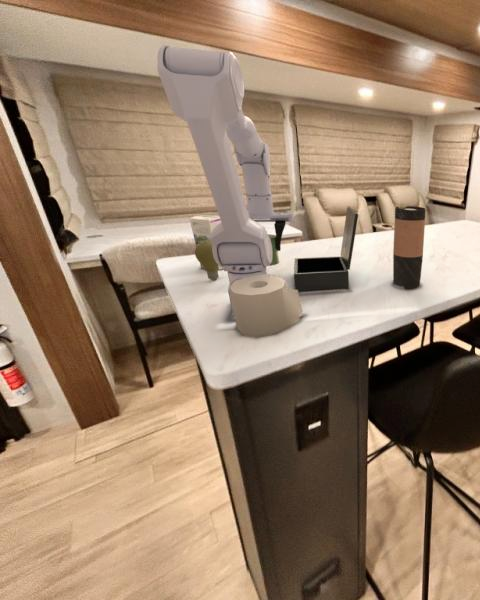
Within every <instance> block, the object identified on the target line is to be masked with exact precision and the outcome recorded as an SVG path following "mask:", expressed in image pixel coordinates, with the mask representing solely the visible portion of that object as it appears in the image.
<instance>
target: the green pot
mask: <svg viewBox="0 0 480 600" xmlns="http://www.w3.org/2000/svg"><path fill="white" fill-rule="evenodd" d="M267 234H268V237H269V238H270V240H271V244H272V251H273V257H272V262H271V264H270V265H269V266H268V267H271V266H276V265H278V264H279V263H280V257H279V251H277V240H276V234H269V233H267Z"/></svg>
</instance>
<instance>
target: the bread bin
mask: <svg viewBox="0 0 480 600" xmlns="http://www.w3.org/2000/svg"><path fill="white" fill-rule="evenodd" d="M293 280H294V289H295V290H298V293H306V292H307V293H308V292H323V291H337V290H338V291H339V290H349V289H350V283H349V282H350V281H349V270H347V268H346V266H345V264H344V262H343V259H342V257H341V256H321V257H319V256H316V257H295V258H294V266H293Z"/></svg>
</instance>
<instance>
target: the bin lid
mask: <svg viewBox="0 0 480 600" xmlns="http://www.w3.org/2000/svg"><path fill="white" fill-rule="evenodd" d="M358 218H359V213H358V212H356V211H355V210H354V209H353V208H352V207H351V206H350V205H349V206H348V205H347V207H346V213H345V221H344V226H343V227H344V228H343V234H342V241H341V248H340V249H341V250H340V257H342V259H343V262H344V264H345V266H346V268H347V270H348V271H350V270H351V263H352V257H353V251H354V244H355V238H356V233H357V232H356V231H357V225H358Z"/></svg>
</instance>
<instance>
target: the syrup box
mask: <svg viewBox="0 0 480 600" xmlns="http://www.w3.org/2000/svg"><path fill="white" fill-rule="evenodd" d="M189 222H190V227H191V230H192V235H193V239H194V243H195V248H196V247H197V246H198V245H199V244H200V243H203V242H211V241H210V237H211V233H212V231H213V229H214V228H215V227H216V226H217V225H218V224H220V223H221V220H220V217H219V215H206V214H201V215H199V214H198V215H194V216H192V217H189ZM199 265H200V268H201V269H204V267H203V266H202V264H201V263H200V262H199ZM218 270H223V267H221V266H219V265H218Z"/></svg>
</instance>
